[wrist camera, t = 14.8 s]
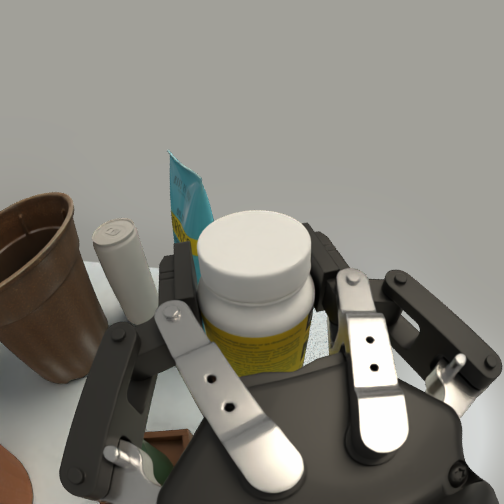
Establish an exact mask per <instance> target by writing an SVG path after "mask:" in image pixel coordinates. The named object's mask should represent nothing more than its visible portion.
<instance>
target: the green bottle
mask: <svg viewBox="0 0 504 504" xmlns="http://www.w3.org/2000/svg"><path fill="white" fill-rule="evenodd" d="M141 450H143V451H144V452H146V453H147V454H148V455H149V457H150V458H151V460H152V462H153V473H154V477H155V479H156V481H157V482H158V483H159V484H160V485H161V486H162V485H163V484H164V482H165V481H166V479H167V477H168V476H169V474H170V473H171V471H172V469H173V468H174V466H173V464H172V462H171V461H170V459H169V458H168V457H167V456H166V455H165V454H163V453H162V452H160V451H159V450H157V449H156V448H154V447H153V446H152V445H150V444H149V443H148V442H146V441H145V440H143V443H142V448H141Z"/></svg>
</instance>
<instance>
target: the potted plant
mask: <svg viewBox="0 0 504 504" xmlns="http://www.w3.org/2000/svg"><path fill="white" fill-rule="evenodd" d="M32 500H33V493H32V486H31V482H30V479H29V476H28V473H27V472H26V470H25V468H24V467H23V465H22V463H21V462H20V461H19V460H18V459H17V458H16V457H15V456H14V455H13V454H11V453H10V452H9V451H8V450H7V449H5V448H4V447H3V446H2V445H1V444H0V504H32Z"/></svg>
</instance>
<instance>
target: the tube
mask: <svg viewBox="0 0 504 504" xmlns="http://www.w3.org/2000/svg"><path fill="white" fill-rule="evenodd" d="M167 151H168V153H169V154H170V200H171V216H172V226H173V235H174V243H180V242H186V241H190V245H191V250H192V255H193V260H194V265H195V270H196V276H197V284H198V283H199V280H200V277H201V273H200V266H199V260H198V253H197V242H198V239H199V236H200V234H201V233H202V231H203V230H204V229H205V228H206V227H207V226H208V225H210V224H211V223H212V222H214V219H213V215H212V211H211V207H210V204H209V201H208V197H207V194H206V191H205V189H204V186H203V184H202V178H201V177H200V176H199V175H197V174H196V173H195V172H194V171H192V170H191V169H189V168H187V167H185V166H184V165H182V164H181V163H180V162H179V161H178V160H177V159H176V158H175V157H174V156H173V155H172V154H171V152H170V151H169V150H167ZM202 322H203V320H202ZM203 329H204V332H205V328H204V324H203ZM205 334H206V332H205Z"/></svg>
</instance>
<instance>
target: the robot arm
mask: <svg viewBox="0 0 504 504" xmlns="http://www.w3.org/2000/svg"><path fill="white" fill-rule="evenodd" d="M302 225H303V226H304V227H305V228H306V230H307V231H308V233H309V235H310V238H311V260H310V261H311V269H310V275H311V276H312V279H313V282H314V286H315V301H314V308H315V310H316V312H319V311H323V310H325V312H326V314H327V316H328V317H327V330H328V345H329V355H328V356H325V357H321V358H318V359H316V360H314V361H312V362H311V363H309V364H307V365H305V366H303V367H301V368H299V369H298V370H296V371H293V372H261V373H256V374H251V375H246V376H241V377H238V375H237V374H236V372H235V371H234V370H233V368H232V367H231V365H230V364H229V362H228V361H227V359H226V358H225V356H224V355H223V353H222V352H221V350H220V349H219V347H218V346H217V345H216V343H215V342H214V341H212V342H211V341H210V340H209V338H208V337H207V335H206V334H205V332H204V329H203V322H202V316H201V312H200V309H199V304H198V299H197V288H198V284H197V276H196V270H195V265H194V260H193V255H192V250H191V245H190V241H186V242H180V243H174V255H169V256H164V258H163V259H162V261H161V263H160V265H159V297H158V308H157V310H156V311H155V315H154V316H153V317H152V318H151V319H150V320H148V321H146V322H144V323H142V324H140V325H137V326H135V327H134V326H133V325H132V324H130V323H128V322H118V323H115V324H113V325H111V326H110V327H109V328H108V329H107V330H106V331H105V333H104V335H103V338H102V340H101V343H100V345H99V347H98V350H97V353H96V355H95V358H94V360H93V363H92V366H91V368H90V371H89V374H88V376H87V379H86V382H85V385H84V388H83V391H82V394H81V396H80V399H79V402H78V406H77V409H76V412H75V415H74V418H73V422H72V425H71V428H70V432H69V435H68V439H67V442H66V446H65V450H64V454H63V458H62V462H61V466H60V471H59V476H60V480H61V483H62V485H63V486H64V488H65V489H66V490H67V491H68V492H69V493H71V494H72V495H75V496H78V497H82V498H86V499H90V500H94V501H98V502H102V503H107V504H499V502H498V499H497V497H496V494H495V492H494V489H493V488H492V487H491V486H490V484H488V483H487V482H486V481H484V480H483V479H481V478H480V477H479V476H477V475H476V474H475V473H474V472H473V471H472V470H471V469H470V468H469V467H468V465H467V464H466V462H465V459H464V454H463V447H462V426H461V421H460V418H461V417H462V416H463V415H464V413H465V412H466V411H467V410H468V408H469V407H470V406H471V404H472V403H473V402H474V401H475V399H476V398H477V397H478V396H479V395H480V394H481V393H483V391H485V390H486V389H487V388H488V387H489V385H490V384H491V383H492V382H493V381H494V380H495V379H496V378H497V377H498V376H499V375H500V374H501V371H502V363H501V359H500V358H499V356H498V355H497V354H496V352H495V351H494V350H493V349H492V348H490V346H488V345H487V343H485V342H484V341H483V340H482V339H481V338H480V337H479V336H478V335H477V334H476V333H475V332H474V331H473V330H472V329H471V328H470V327H469V326H468V325H466V324H465V323H464V322H463V321H462V320H461V319H460V318H459V317H458V316H457V315H456V314H454V313H453V312H452V311H451V310H450V309H449V308H448V307H446V305H444V304H443V303H442V302H441V301H440V300H439V299H438V298H436V297H435V296H434V295H433V294H431V293H430V292H429V291H428V290H427V289H426V288H424V287H423V286H422V285H421V284H420V283H419V282H417V281H416V280H415V279H414V278H413V277H411V276H410V275H409V274H408V273H406V272H404V271H401V270H391V271H389V272H388V273H387V274H386V276H385V279H368V277H367V276H366V274H364V273H363V272H362V271H360V270H358V269H353V268H350V267H349V266H348V264H347V263H346V262H345V261H344V259H343V257H342V256H341V255H340V253H339V252H338V251H337V250H336V248H335V246H334V245H332V242H331V241H330V240H329V238H328V237H327V236H325V235H324V234H322V233H321V232H314V231H313V229H312V228H311V226H310V225H309V224H308V223H302ZM403 310H404V311H405V312H406V313H407V314H408V315H409V316H410V317H411V318H412V319H413V320H414V321H416V323H417V324H418V325H419V328H420V332H419V331H418V330H417V329H416V328H415V327H413V326H412V324H411V323H409V322H408V321H407V320H406V319H405V318H404V317H403V316H402V315H401V313H402V311H403ZM391 346H392V347H393V348H394V349H395V350H396V352H397V353H398V354H399V355H400V356H401V357H402V358H403V359H404V360H405V361H406V362H407V363H408V364H409V365H410V366H411V367H412V368H413V369H414V370H415V371H416V372H417V373H418V375H419V376H420V377H421V378H422V379H423V380H424V381H425V385H426V391H425V392H423V391H421V390H420V389H418V388H416V387H414V386H412V385H410V384H408V383H406V382H404V381H402V380H400V379H399V378H397V374H396V369H395V364H394V358H393V353H392V349H391ZM174 366H176V367H177V369H178V371H179V373H180V375H181V377H182V379H183V381H184V383H185V384H186V386H187V388H188V390H189V392H190V394H191V395H192V397H193V399H194V401H195V403H196V405H197V406H198V408H199V410H200V412H201V413H202V415H203V417H204V418H203V420H202V422H201V423H200V425H199V427H198V428H197V430H196V432H195V433H194V435H193V437H192V438H191V440H190V442H189V443H188V445H187V447H186V448H185V450H184V452H183V453H182V455H181V457H180V458H179V460H178V461H177V463H176V465H175V466H174V468H173V469H172V471H171V473H170V474H169V476H168V477H167V479H166V481H165V482H164V484H163V485H162V486H161V485H160V484H159V483H158V482H157V481H156V479H155V477H154V473H153V462H152V460H151V458H150V457H149V455H148V454H147V453H146V452H144V451H143V450H141V448H142V443H143V438H144V433H145V428H146V424H147V419H148V414H149V410H150V405H151V401H152V396H153V392H154V388H155V384H156V379H157V375H158V373H160V372H163V371H165V370H167V369H169V368H172V367H174Z"/></svg>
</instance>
